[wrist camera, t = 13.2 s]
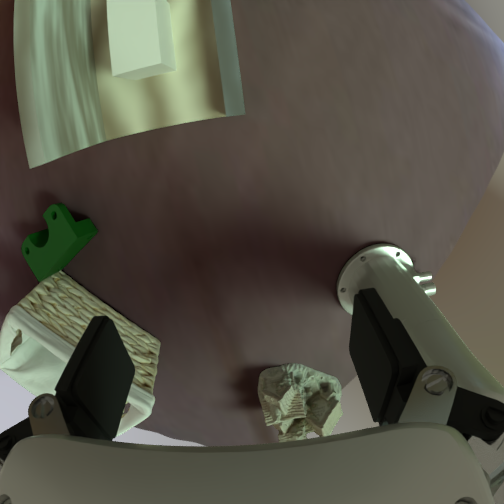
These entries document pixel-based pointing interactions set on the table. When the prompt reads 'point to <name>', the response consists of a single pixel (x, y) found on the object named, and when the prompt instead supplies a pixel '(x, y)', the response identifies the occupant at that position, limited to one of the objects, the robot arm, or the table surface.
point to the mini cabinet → (140, 38)
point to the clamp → (56, 241)
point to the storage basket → (71, 342)
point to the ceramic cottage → (299, 401)
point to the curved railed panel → (115, 88)
